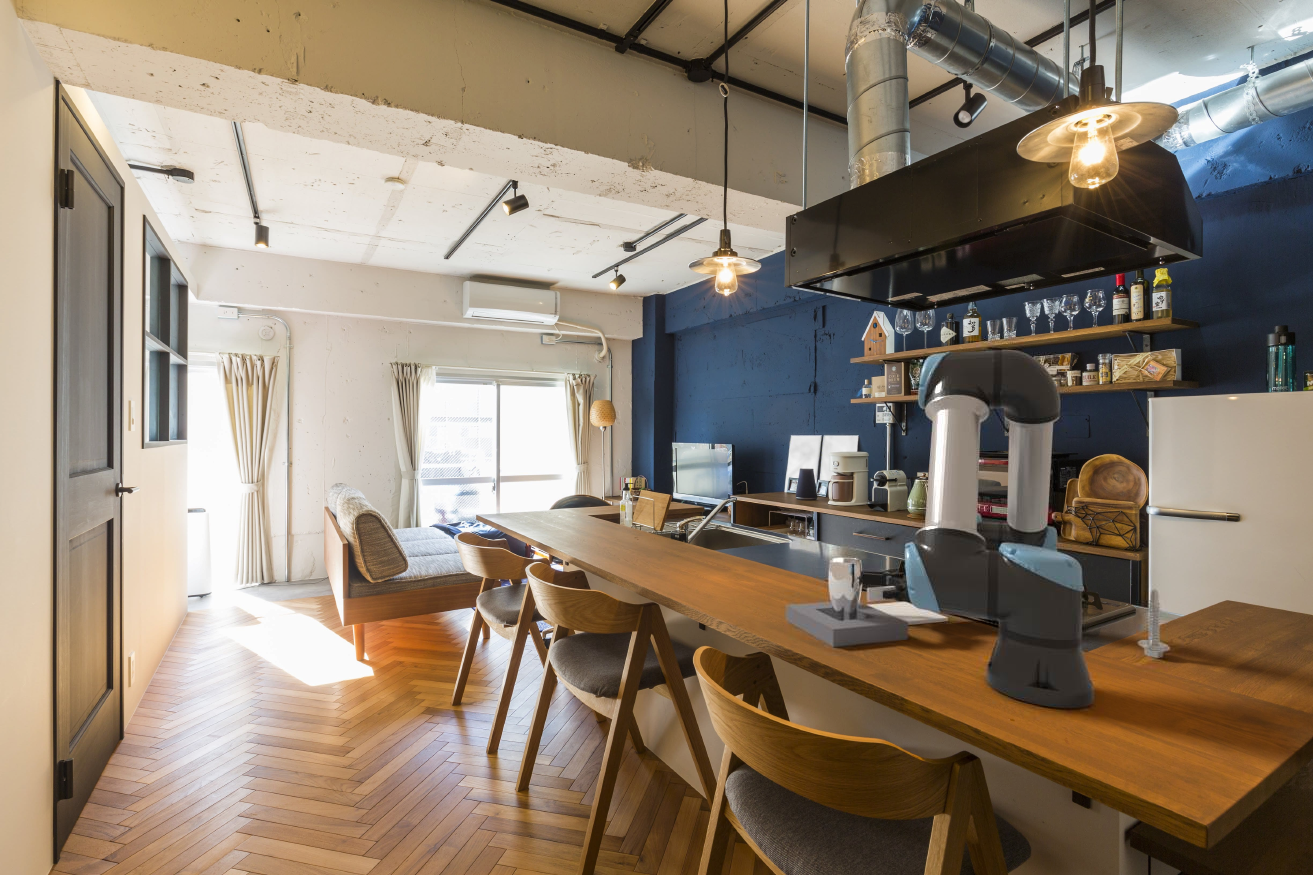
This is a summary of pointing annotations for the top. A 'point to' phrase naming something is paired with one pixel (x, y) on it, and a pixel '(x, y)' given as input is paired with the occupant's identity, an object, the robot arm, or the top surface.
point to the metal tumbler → (845, 587)
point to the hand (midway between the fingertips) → (847, 586)
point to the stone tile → (909, 613)
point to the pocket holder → (846, 624)
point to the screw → (1154, 630)
